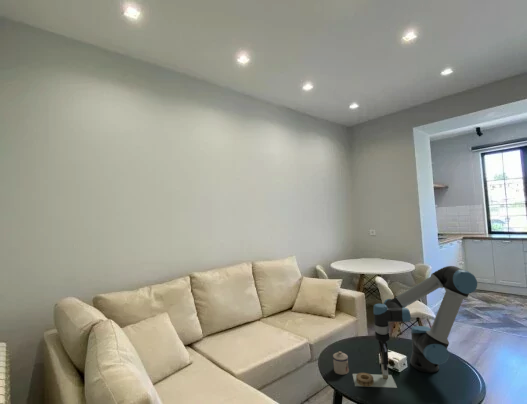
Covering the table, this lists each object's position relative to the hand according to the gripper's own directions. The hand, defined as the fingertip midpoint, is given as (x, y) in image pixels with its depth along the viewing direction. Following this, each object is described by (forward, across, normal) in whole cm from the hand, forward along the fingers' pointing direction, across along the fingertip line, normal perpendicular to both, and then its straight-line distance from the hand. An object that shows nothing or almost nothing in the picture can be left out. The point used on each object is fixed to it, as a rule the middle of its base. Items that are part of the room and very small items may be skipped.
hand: (385, 373), depth 166 cm
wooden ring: (+3, +4, -12) cm, 13 cm away
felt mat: (+3, +3, -7) cm, 8 cm away
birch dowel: (+3, 0, 0) cm, 3 cm away
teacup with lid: (+3, -8, -24) cm, 25 cm away
